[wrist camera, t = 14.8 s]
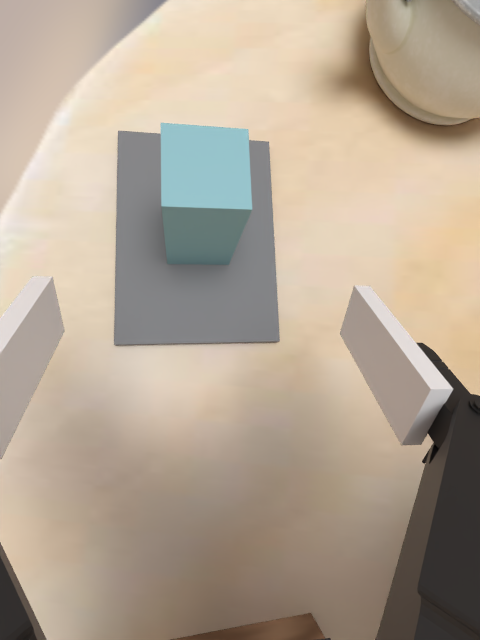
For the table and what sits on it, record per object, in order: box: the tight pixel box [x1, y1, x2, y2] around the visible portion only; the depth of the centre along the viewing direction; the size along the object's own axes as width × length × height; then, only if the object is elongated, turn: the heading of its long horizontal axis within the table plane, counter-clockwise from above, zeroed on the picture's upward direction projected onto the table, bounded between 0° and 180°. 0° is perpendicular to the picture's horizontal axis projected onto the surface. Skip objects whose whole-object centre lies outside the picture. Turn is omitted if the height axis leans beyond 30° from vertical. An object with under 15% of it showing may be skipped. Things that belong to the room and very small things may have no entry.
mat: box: [114, 131, 280, 345], centre depth 30 cm, size 13×18×1 cm
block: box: [161, 123, 252, 265], centre depth 25 cm, size 5×5×10 cm
